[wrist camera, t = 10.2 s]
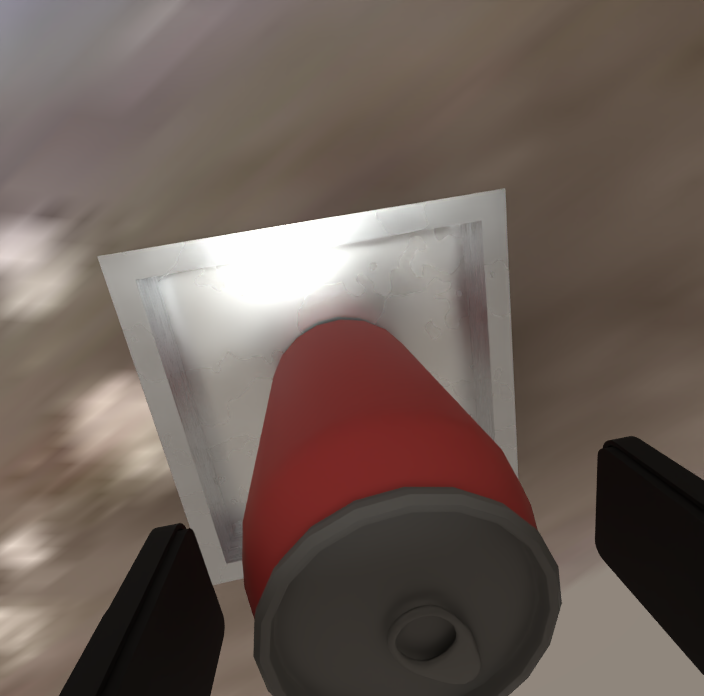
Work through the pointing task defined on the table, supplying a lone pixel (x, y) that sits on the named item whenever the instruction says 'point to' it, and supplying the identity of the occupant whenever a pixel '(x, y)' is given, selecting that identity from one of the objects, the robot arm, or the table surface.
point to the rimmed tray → (301, 316)
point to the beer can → (387, 533)
